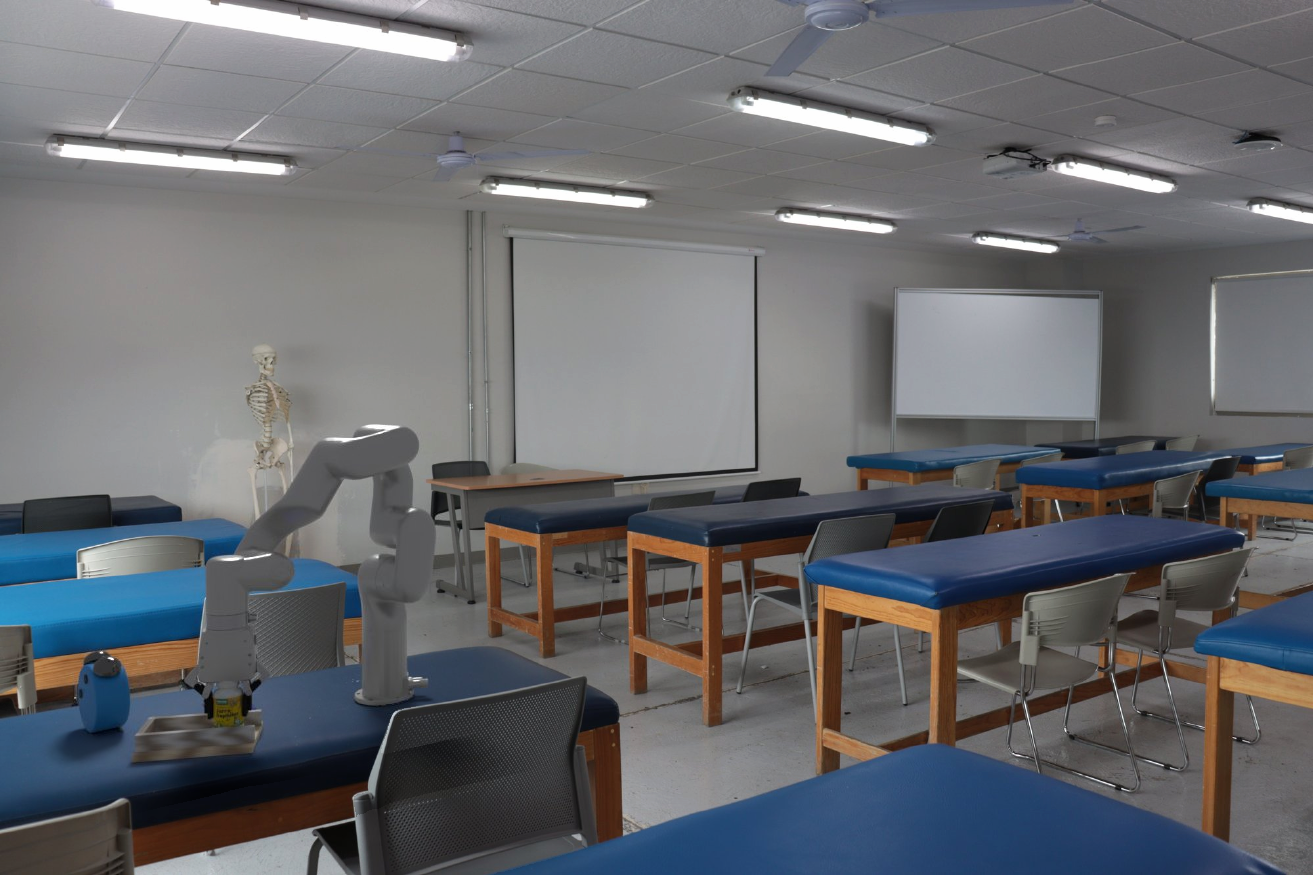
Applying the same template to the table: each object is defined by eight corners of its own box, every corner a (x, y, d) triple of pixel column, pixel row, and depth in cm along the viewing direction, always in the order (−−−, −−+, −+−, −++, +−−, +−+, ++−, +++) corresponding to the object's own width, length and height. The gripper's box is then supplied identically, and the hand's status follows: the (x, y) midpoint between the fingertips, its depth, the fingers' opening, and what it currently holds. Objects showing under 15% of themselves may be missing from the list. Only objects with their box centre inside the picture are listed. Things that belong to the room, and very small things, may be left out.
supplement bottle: (244, 721, 182) (244, 672, 181) (243, 731, 176) (242, 680, 176) (214, 724, 180) (213, 675, 179) (211, 734, 175) (211, 683, 174)
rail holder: (263, 727, 186) (263, 706, 186) (252, 752, 173) (252, 730, 173) (151, 735, 181) (151, 714, 181) (132, 762, 168) (131, 739, 167)
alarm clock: (131, 734, 182) (130, 657, 181) (95, 742, 177) (94, 663, 177) (110, 717, 191) (110, 644, 190) (76, 724, 187) (75, 650, 186)
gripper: (278, 614, 183) (279, 706, 184) (182, 619, 179) (183, 713, 179) (273, 623, 176) (274, 718, 177) (173, 628, 171) (174, 726, 172)
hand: (228, 714), depth 178 cm, fingers closed on supplement bottle, 5 cm apart
